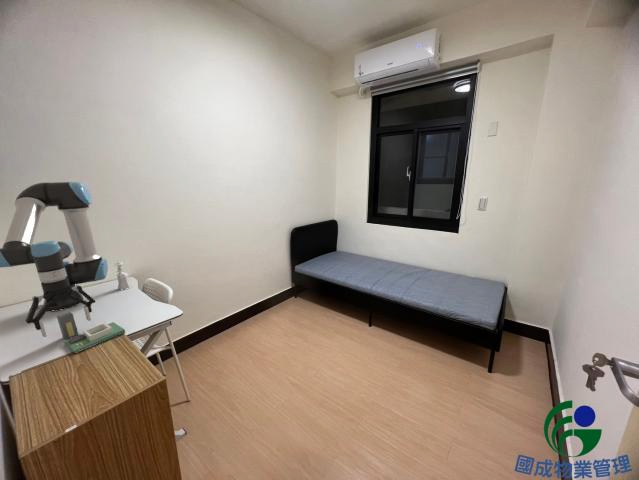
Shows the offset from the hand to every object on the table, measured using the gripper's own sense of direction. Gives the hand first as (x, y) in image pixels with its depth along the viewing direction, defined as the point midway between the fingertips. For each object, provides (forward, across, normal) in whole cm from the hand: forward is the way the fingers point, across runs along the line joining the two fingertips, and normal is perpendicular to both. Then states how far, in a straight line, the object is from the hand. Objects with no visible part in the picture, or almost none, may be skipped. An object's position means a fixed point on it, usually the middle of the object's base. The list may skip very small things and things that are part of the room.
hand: (67, 327), depth 104 cm
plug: (+4, 0, 0) cm, 4 cm away
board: (+4, +5, -12) cm, 14 cm away
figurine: (+4, +35, +41) cm, 54 cm away
